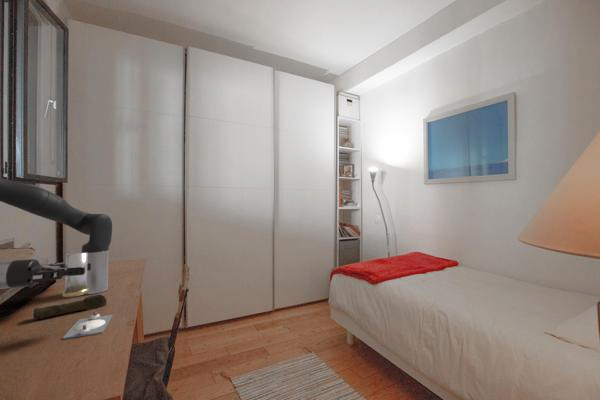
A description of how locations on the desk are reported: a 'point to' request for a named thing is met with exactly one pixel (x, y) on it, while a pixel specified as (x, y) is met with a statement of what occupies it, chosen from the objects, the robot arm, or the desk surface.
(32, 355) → the desk surface
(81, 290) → the clear glass cylinder
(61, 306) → the hand tool
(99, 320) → the board
